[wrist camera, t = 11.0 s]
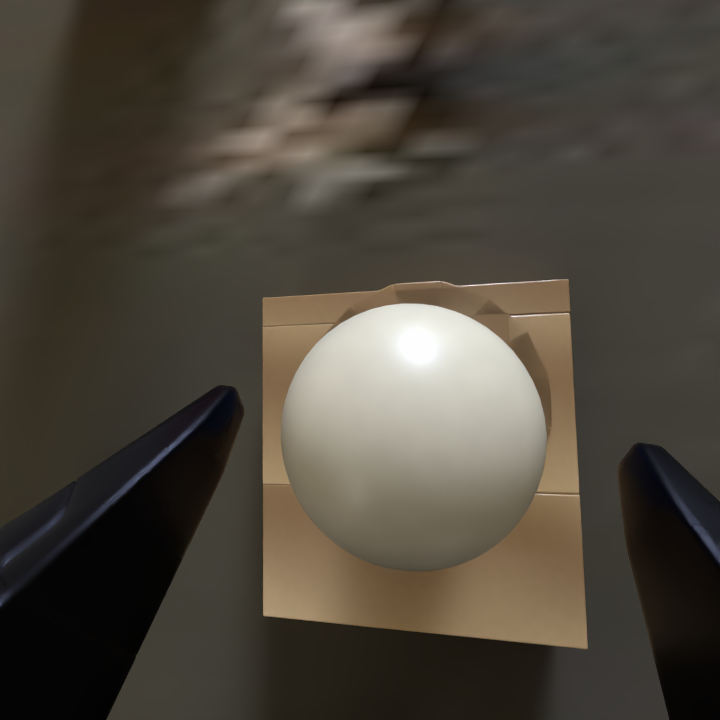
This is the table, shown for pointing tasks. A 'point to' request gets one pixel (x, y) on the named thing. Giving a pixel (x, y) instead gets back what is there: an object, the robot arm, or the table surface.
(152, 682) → the table surface
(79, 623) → the robot arm
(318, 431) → the white topped blue rod
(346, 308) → the holder
